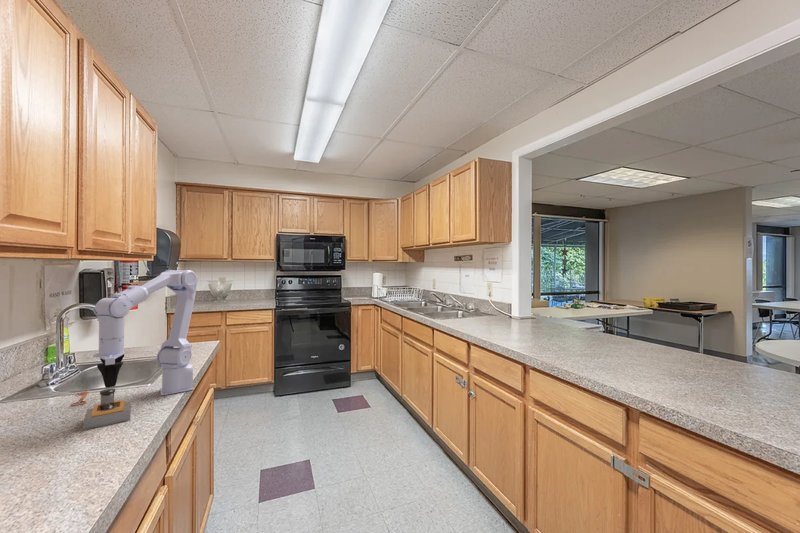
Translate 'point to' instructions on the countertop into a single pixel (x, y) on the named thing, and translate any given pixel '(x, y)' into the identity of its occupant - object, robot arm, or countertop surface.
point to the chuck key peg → (107, 399)
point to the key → (81, 398)
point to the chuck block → (107, 415)
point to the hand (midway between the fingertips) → (111, 383)
